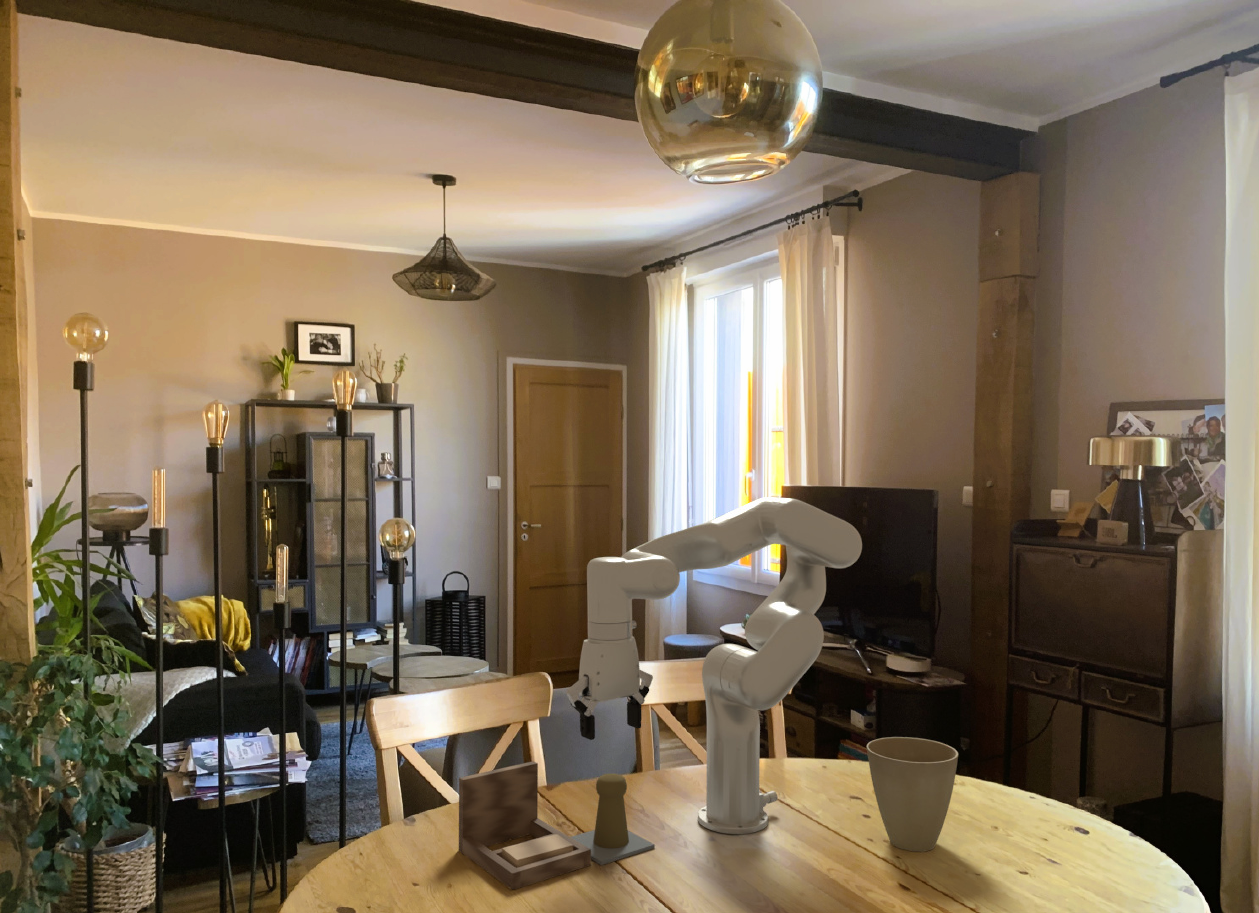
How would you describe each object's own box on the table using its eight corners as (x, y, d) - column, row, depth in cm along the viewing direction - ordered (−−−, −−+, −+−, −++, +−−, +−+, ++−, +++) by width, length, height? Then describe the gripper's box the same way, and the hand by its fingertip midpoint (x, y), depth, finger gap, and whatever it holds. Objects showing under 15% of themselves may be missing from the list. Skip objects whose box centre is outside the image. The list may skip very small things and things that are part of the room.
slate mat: (615, 827, 161) (615, 823, 161) (654, 848, 152) (654, 844, 152) (563, 842, 154) (563, 839, 154) (601, 865, 146) (601, 861, 146)
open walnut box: (533, 829, 160) (533, 761, 160) (590, 865, 146) (591, 790, 146) (458, 850, 151) (459, 777, 151) (512, 890, 137) (512, 810, 137)
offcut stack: (556, 856, 150) (556, 834, 150) (572, 867, 145) (573, 845, 145) (501, 871, 144) (501, 848, 144) (516, 883, 140) (517, 860, 140)
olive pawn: (630, 834, 156) (631, 770, 156) (627, 849, 150) (627, 782, 150) (595, 833, 157) (596, 769, 157) (591, 847, 151) (591, 781, 151)
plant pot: (972, 842, 155) (972, 748, 155) (934, 870, 144) (934, 769, 144) (891, 819, 165) (891, 731, 166) (850, 843, 154) (850, 749, 155)
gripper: (636, 621, 162) (638, 718, 162) (554, 634, 151) (556, 737, 151) (663, 627, 156) (665, 727, 156) (580, 641, 146) (581, 748, 145)
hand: (611, 732), depth 154 cm, fingers open, 9 cm apart
